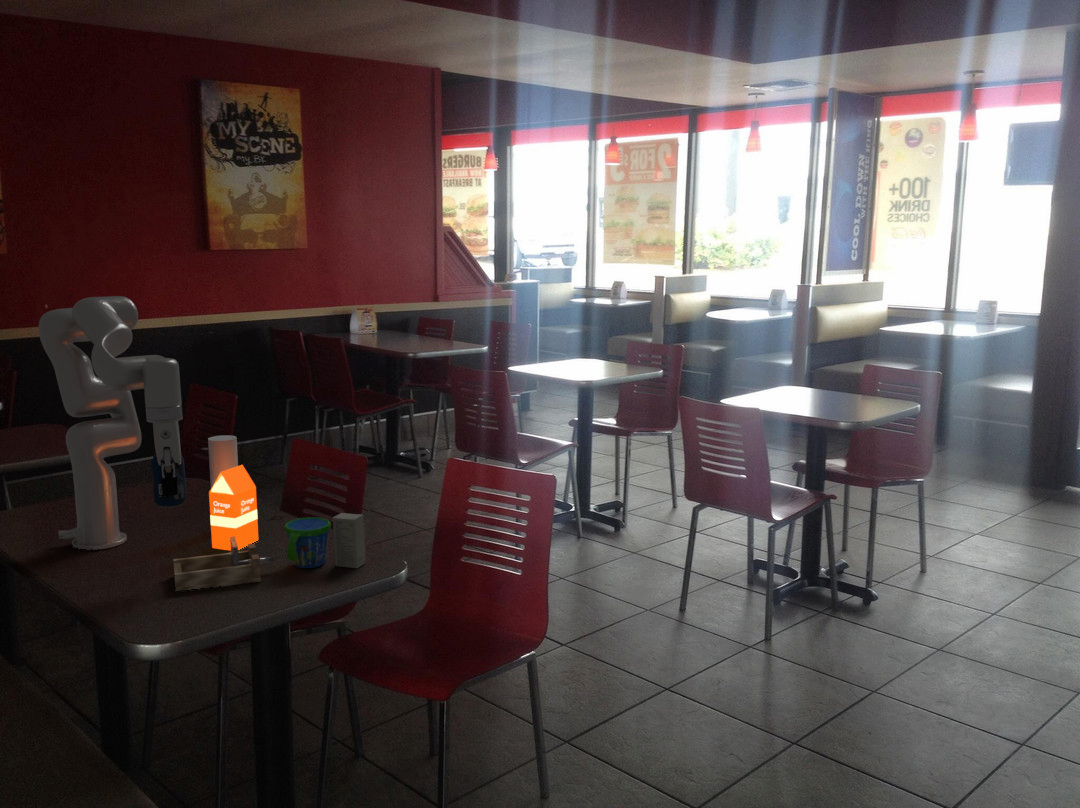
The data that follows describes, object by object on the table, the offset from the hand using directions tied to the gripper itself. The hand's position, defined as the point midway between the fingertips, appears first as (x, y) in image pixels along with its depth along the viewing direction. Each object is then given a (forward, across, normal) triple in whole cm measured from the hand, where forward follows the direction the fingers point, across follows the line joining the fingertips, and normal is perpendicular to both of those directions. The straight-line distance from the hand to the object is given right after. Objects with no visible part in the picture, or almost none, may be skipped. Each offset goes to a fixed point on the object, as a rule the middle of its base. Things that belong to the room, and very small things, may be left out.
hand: (170, 490), depth 210 cm
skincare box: (+21, -7, -39) cm, 44 cm away
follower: (+19, -5, -17) cm, 26 cm away
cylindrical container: (+20, +33, -13) cm, 41 cm away
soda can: (+4, 0, 0) cm, 4 cm away
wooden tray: (+20, -5, -9) cm, 23 cm away
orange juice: (+20, +19, -14) cm, 31 cm away
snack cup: (+21, -3, -30) cm, 36 cm away
